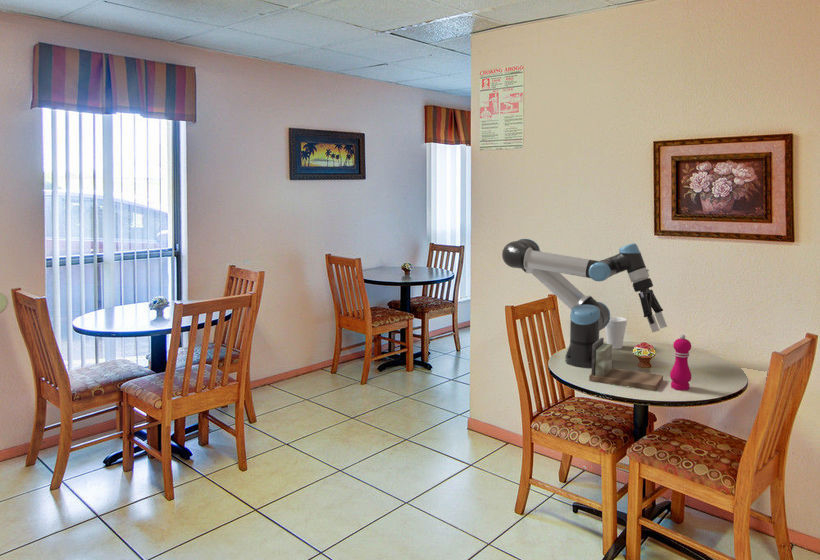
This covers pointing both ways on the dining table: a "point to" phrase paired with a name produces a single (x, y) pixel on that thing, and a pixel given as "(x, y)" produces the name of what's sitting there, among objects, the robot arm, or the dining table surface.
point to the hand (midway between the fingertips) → (660, 329)
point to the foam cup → (616, 331)
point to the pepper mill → (681, 365)
